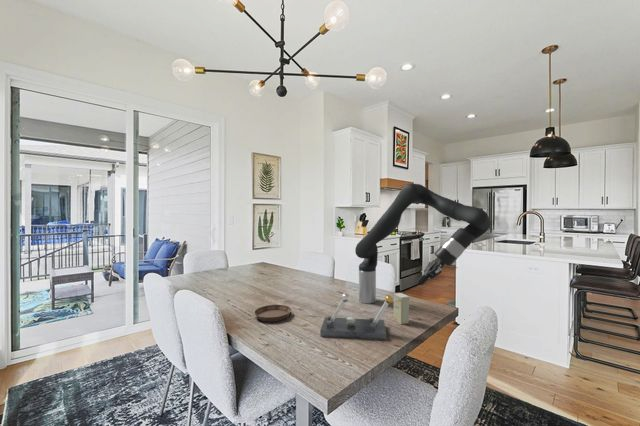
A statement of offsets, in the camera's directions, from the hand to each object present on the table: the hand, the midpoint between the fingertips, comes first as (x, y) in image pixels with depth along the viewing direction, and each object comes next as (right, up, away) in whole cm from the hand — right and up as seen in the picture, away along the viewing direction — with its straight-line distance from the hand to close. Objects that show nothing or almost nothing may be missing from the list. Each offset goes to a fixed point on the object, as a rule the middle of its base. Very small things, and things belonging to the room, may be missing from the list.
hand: (419, 283), depth 119 cm
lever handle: (-18, -19, +4) cm, 26 cm away
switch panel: (-26, -21, +5) cm, 34 cm away
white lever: (-36, -19, +6) cm, 41 cm away
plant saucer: (-63, -22, +23) cm, 70 cm away
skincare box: (-3, -21, +15) cm, 26 cm away
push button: (-27, -19, +5) cm, 33 cm away
